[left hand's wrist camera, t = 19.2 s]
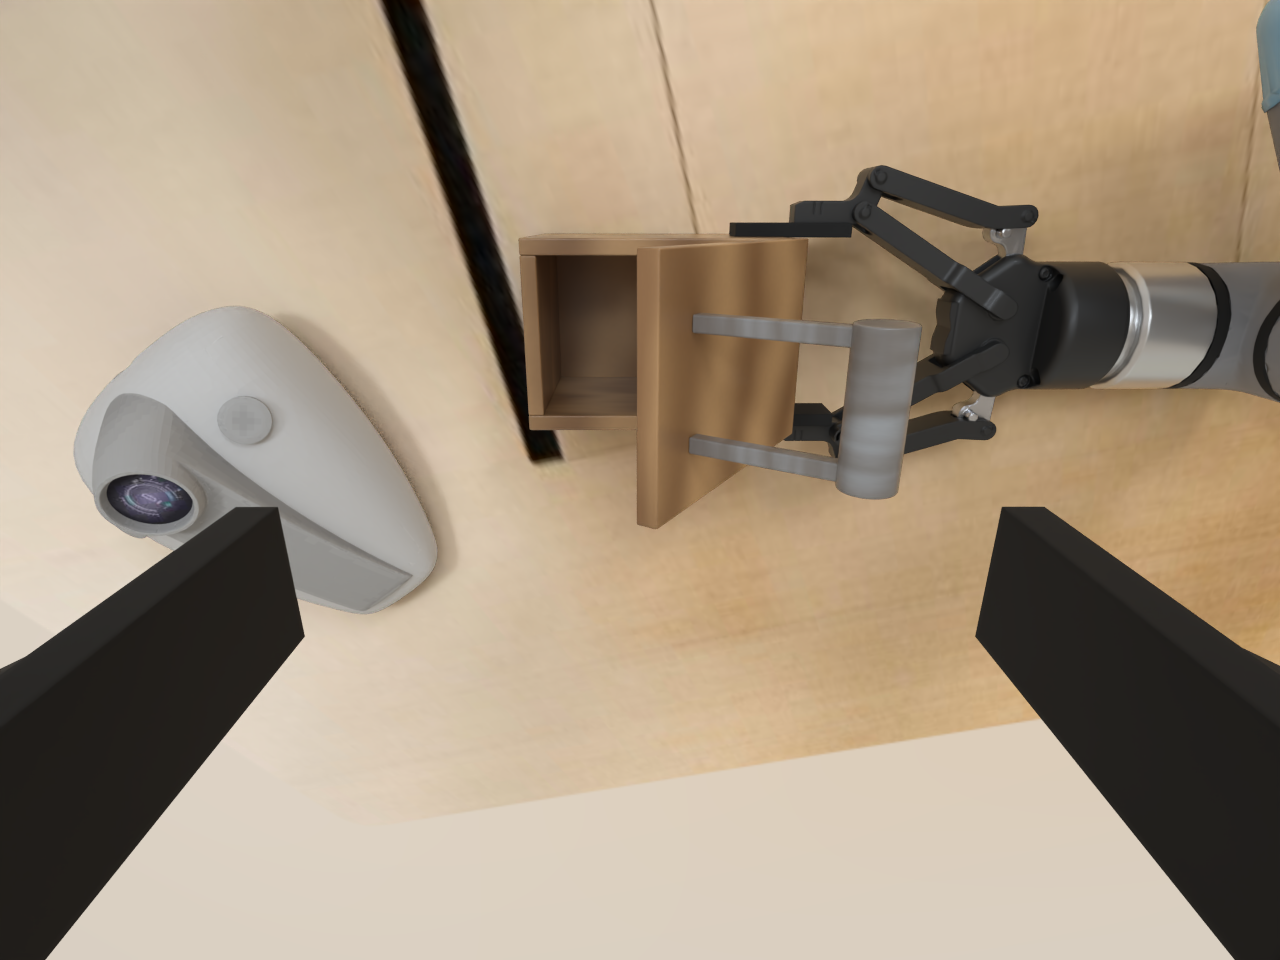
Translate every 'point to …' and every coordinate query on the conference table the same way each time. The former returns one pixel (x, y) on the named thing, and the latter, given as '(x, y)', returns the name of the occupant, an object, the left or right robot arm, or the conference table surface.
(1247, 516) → the conference table surface
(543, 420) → the chest
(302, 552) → the projector
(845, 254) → the conference table surface
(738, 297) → the lid
